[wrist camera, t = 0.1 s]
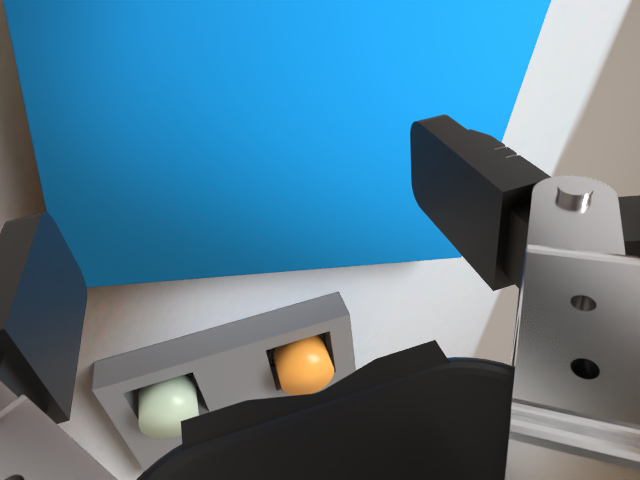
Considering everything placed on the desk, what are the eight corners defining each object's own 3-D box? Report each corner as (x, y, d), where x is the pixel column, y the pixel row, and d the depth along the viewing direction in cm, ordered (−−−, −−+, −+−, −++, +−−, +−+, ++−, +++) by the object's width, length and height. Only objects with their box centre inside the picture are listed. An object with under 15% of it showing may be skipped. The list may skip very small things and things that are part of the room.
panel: (94, 361, 35) (92, 390, 33) (338, 291, 38) (349, 314, 36) (152, 458, 43) (153, 485, 41) (351, 394, 46) (360, 417, 44)
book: (-17, -60, 18) (558, -7, 25) (8, -71, 22) (509, -21, 29) (64, 300, 28) (464, 266, 35) (72, 254, 31) (436, 231, 38)
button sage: (130, 383, 35) (130, 413, 34) (187, 366, 36) (190, 394, 34) (148, 415, 38) (149, 445, 36) (201, 399, 39) (205, 427, 37)
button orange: (269, 342, 37) (276, 368, 35) (321, 326, 38) (331, 351, 36) (278, 375, 39) (285, 402, 38) (326, 360, 40) (336, 385, 38)
